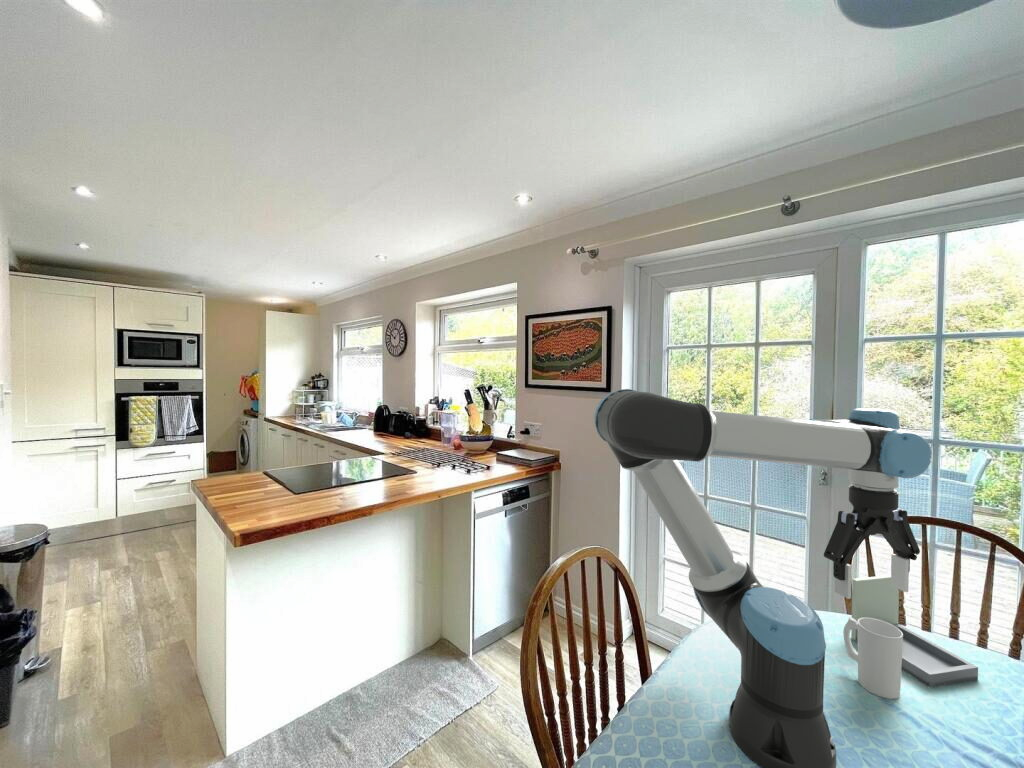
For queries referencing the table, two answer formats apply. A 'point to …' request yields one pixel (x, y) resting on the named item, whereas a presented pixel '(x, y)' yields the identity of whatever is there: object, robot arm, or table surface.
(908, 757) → the table surface
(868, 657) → the mug
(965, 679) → the mug holder
